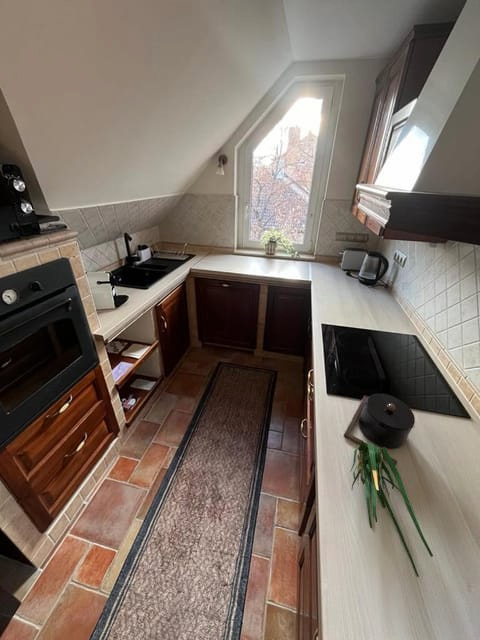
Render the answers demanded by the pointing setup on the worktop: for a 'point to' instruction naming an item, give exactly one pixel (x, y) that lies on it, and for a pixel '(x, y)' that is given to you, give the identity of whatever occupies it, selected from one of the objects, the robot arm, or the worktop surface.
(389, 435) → the pot
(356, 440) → the brown bent strip
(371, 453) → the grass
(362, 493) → the worktop surface
